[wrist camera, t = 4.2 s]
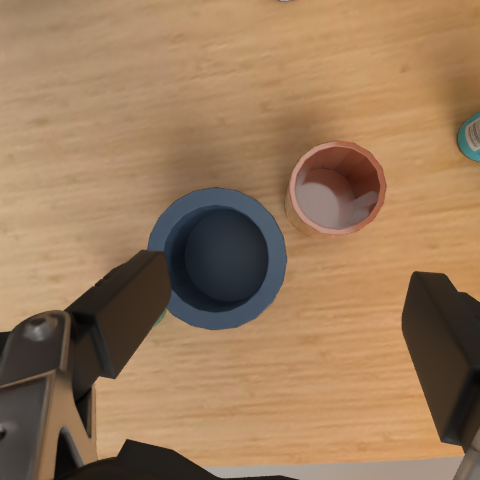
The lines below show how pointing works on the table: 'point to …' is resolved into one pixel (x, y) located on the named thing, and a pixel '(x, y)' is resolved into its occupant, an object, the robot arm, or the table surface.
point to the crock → (335, 190)
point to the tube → (470, 137)
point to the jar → (220, 257)
